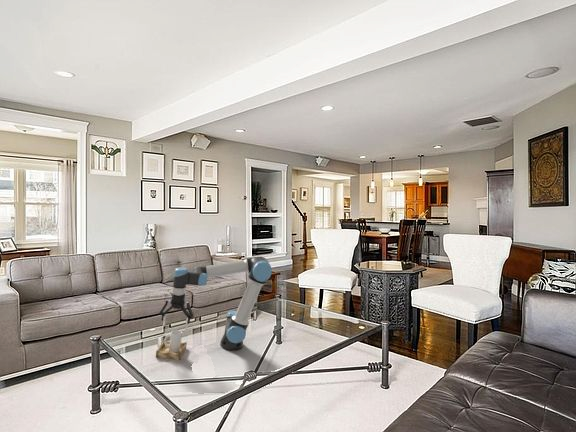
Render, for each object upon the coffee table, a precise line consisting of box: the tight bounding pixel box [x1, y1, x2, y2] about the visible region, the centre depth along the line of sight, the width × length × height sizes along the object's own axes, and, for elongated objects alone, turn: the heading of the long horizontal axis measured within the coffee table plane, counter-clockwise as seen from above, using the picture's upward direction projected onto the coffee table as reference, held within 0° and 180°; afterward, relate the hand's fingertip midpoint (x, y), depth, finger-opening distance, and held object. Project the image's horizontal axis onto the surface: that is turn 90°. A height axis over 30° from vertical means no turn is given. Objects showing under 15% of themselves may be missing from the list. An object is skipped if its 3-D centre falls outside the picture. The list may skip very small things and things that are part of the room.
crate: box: [155, 339, 188, 361], centre depth 212 cm, size 14×14×4 cm
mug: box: [163, 329, 183, 353], centre depth 212 cm, size 10×7×12 cm, turn 114°
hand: (175, 327), depth 211 cm, fingers open, 13 cm apart
